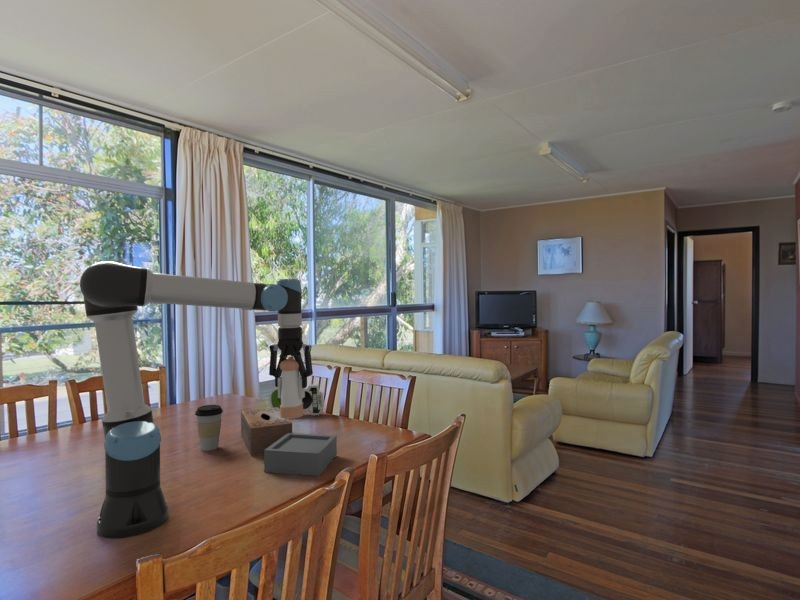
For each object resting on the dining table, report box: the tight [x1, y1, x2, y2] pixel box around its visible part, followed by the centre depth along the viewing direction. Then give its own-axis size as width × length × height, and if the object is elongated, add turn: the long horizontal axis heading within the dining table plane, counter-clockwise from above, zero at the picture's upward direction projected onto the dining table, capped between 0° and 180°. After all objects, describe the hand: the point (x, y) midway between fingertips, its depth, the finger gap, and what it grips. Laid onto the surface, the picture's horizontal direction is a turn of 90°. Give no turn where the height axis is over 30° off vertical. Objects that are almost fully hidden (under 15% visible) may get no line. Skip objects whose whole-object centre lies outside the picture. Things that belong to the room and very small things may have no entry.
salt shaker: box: [280, 356, 304, 420], centre depth 146 cm, size 7×7×19 cm
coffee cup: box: [194, 404, 224, 452], centre depth 165 cm, size 9×9×15 cm
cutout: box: [268, 383, 325, 416], centre depth 210 cm, size 15×3×25 cm
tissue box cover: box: [240, 407, 293, 457], centre depth 172 cm, size 26×14×10 cm, turn 26°
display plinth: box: [263, 432, 338, 477], centre depth 150 cm, size 18×18×7 cm
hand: (291, 397), depth 147 cm, fingers closed on salt shaker, 7 cm apart
